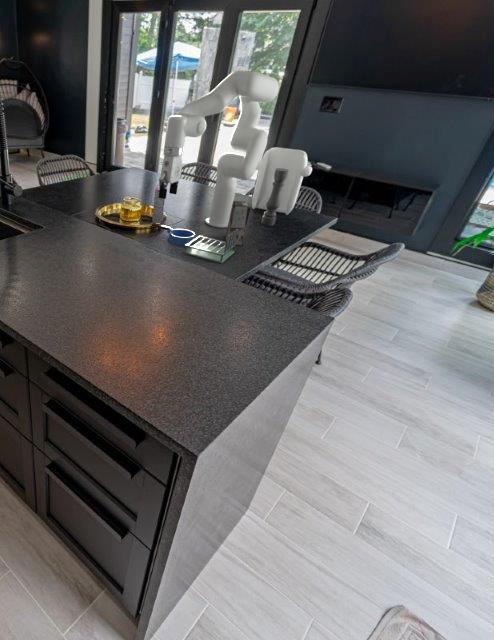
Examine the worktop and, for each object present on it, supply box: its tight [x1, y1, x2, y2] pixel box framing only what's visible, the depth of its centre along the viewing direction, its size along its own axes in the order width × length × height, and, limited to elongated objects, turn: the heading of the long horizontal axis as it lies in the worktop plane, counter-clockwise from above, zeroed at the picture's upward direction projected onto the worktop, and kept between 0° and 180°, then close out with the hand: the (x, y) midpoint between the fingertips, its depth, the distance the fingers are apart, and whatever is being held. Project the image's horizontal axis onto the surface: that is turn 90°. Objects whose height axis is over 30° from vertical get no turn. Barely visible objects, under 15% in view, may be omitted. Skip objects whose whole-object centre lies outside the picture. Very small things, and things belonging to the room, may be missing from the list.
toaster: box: [251, 146, 313, 216], centre depth 208 cm, size 27×11×30 cm, turn 58°
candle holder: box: [260, 168, 289, 227], centre depth 190 cm, size 6×6×25 cm
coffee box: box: [225, 200, 252, 246], centre depth 172 cm, size 9×6×16 cm
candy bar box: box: [151, 184, 166, 225], centre depth 190 cm, size 11×5×16 cm, turn 168°
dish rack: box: [183, 229, 238, 264], centre depth 162 cm, size 14×16×10 cm
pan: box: [150, 222, 196, 247], centre depth 176 cm, size 11×20×5 cm, turn 54°
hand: (167, 196), depth 168 cm, fingers open, 9 cm apart
